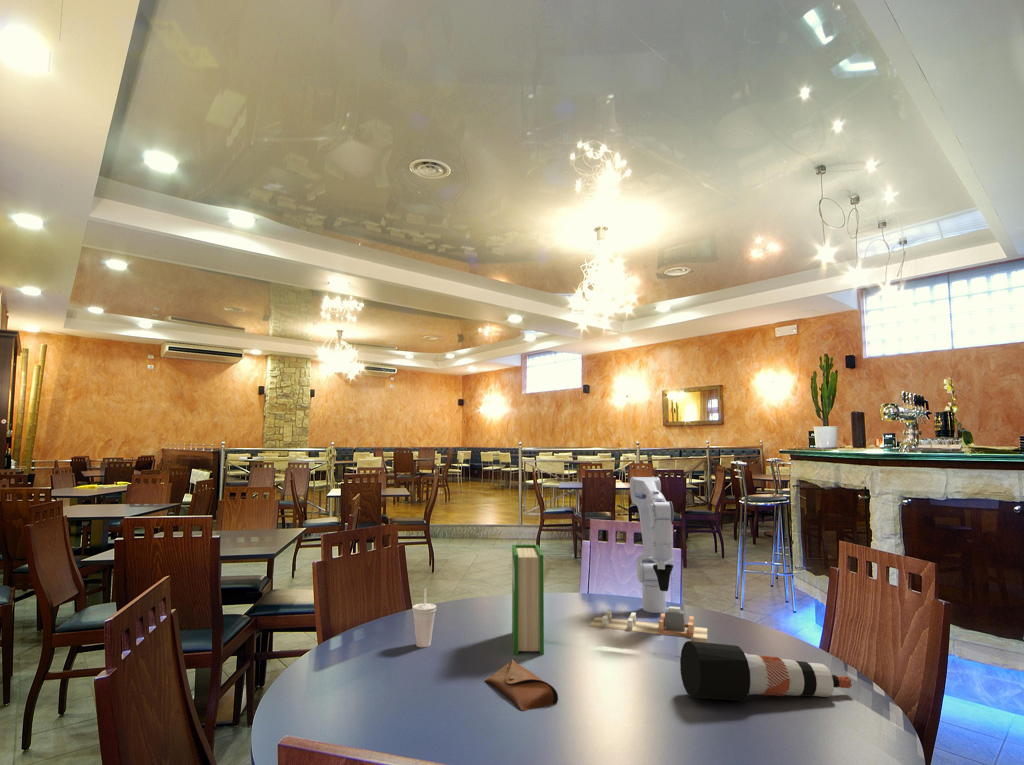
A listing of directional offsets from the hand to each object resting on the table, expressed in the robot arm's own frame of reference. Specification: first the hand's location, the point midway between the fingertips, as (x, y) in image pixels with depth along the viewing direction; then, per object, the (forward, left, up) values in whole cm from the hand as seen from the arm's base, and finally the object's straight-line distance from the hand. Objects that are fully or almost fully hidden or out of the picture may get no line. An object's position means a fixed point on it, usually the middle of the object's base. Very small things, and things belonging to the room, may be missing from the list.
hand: (664, 590), depth 159 cm
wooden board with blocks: (+5, -4, -10) cm, 12 cm away
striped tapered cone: (+42, +24, -11) cm, 49 cm away
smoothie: (+38, -58, -10) cm, 71 cm away
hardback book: (+27, -33, -10) cm, 44 cm away
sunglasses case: (+57, -25, -11) cm, 63 cm away
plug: (+5, +3, -9) cm, 11 cm away
